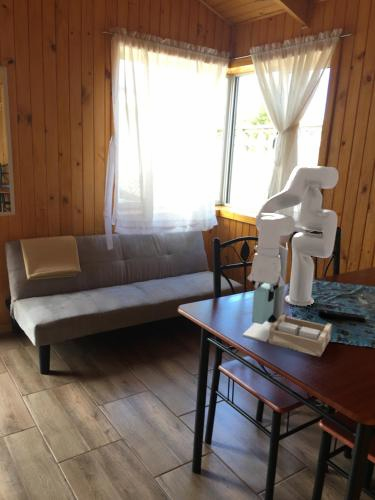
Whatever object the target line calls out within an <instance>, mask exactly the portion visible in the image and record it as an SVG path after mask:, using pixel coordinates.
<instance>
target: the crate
mask: <svg viewBox="0 0 375 500" xmlns="http://www.w3.org/2000/svg"><path fill="white" fill-rule="evenodd" d="M281 322H286V323H290V324H294V325H298V333H297V336H296V335H292V334H288V333H284V332H280V331H278V325H279V324H280V323H281ZM272 323H273V324H272V326H271V327H270V329H269V339H268V341H267V342H268V344H270V345H274V346H278V347H282V348H286V349H288V348H289V350H292V349H293V351H296V350H297V352H299V353H305V354H308V355H312V356H316V357H319V358H320V357H321V356H322V354H323V352H324V351H325V349H326V347H327V345H328V344H329V342H330V340H331V334H332V326H333V323H329V322H327V324H321V323H318V322H312V321H308V320H305V319H299V318H297V317H296V318H294V317H291V316H288V313H285V312H283V313H282V315H281V316H280V317H279V318H278V319H275V321H274V322H272ZM302 326H303V327H307V328H312V329H316V330H320V334H319V338H318V340H313V339H308V338H304V337H300V336H299V330H300V329H301V328H302Z"/></svg>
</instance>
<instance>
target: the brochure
mask: <svg viewBox="0 0 375 500" xmlns="http://www.w3.org/2000/svg"><path fill="white" fill-rule="evenodd" d="M288 247H289V246H288V242H287V241H286V242H285V247H284V246H283V245H282V244H279V254H278V255H279V256H280V259H281V277H282V279H283V281H284V283H285V284H284V285H283V286H281V287H279V288H277V289H276V290H275V298H274V309H273V314H272V315H271V316H273V317H274V319H275V320H277V319H278V318H279V317H280V316H281V315H282V314H283V313H284V312H283V310H284V300H285V289H286V288H285V287H286V279H287V278H286V277H287V265H288V255H289V248H288ZM277 284H279V281H278V283H276V285H277ZM266 321H267V322H269V318H268V319H267V320H266Z"/></svg>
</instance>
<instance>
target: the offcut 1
mask: <svg viewBox="0 0 375 500" xmlns="http://www.w3.org/2000/svg"><path fill="white" fill-rule="evenodd" d="M278 331H280V332H284V333H288V334H292V335H296V336H297V333H298V325H294V324H290V323H286V322H281V323H280V324H279V325H278Z"/></svg>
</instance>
